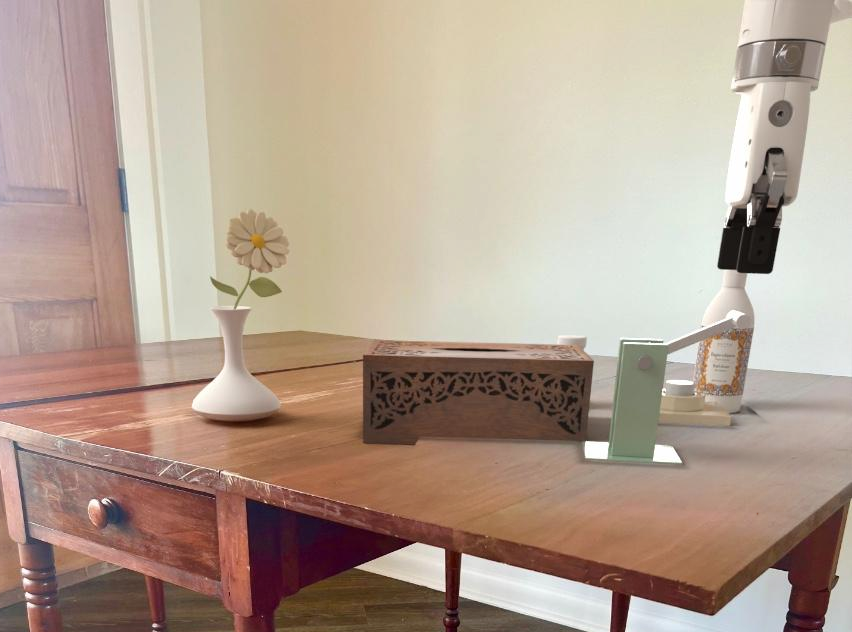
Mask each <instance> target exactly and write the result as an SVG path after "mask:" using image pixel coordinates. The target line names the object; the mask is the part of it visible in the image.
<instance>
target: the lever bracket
mask: <svg viewBox="0 0 852 632" xmlns="http://www.w3.org/2000/svg"><path fill="white" fill-rule="evenodd" d="M648 342H650V343H648ZM668 346H669V345H668V344H665V343H664V340H663V339H661V338H633V337H632V338H630V337H620V339H619V347H618V353H617V354H618V355H617V364H616V373H615V380H614V381H615V382H614V391H613V398H612V406H611V407H612V408H611V417H610V424H609V425H610V427H609V436H608V441H607V442H605V441H587V440H586V441H581V445H582V450H583V456H584V461H597V462H600V461H601V462H621V463H637V464H638V463H639V464H658V465H676V466H677V465H678V466H683V464H684V463H683V461H682V460H681V457H680V456H679V455H678V453H677V451H676V450H675V447H674V446H673V445H667V444H656V443H657V436H658V435H657V434H658V427H659V423H658V421H659V414H660V406H661V399H662V391H663V389H664V382H665V375H666V370H667V369H666V367H667V360H668V355H669V354H668ZM667 354H668V355H667Z"/></svg>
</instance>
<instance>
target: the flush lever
mask: <svg viewBox="0 0 852 632" xmlns="http://www.w3.org/2000/svg"><path fill="white" fill-rule="evenodd" d="M750 324H751V318H750V316H748V315H746V314H744V313H742V312H739V311H736V310H733V311H730V312H729V313H728V314H727V317H726V319H724V320H721V321H719V322H717V323H714V324H712V325H709V326H707V327H704V328H702V329H701V328H700V329H697V330H695V331H691V332H690V333H688V334H685V335H683V336H680V337H678V338H676V339H673V340H670V341H668V342H666V343H664V344H668V345H669V346H668V354H667V356H668V355H670V354H672V353H675V352H678V351H680V350H682V349H685V348H687V347H690V346H692V345H695V344H698V343H699V342H700V341H702V340H705V339H707V338H710V337H712V336H714V335H717V334H719V333H722V332H724V331H727V330H729V329H732V328H734V327H737V328H739V329H746V328H748V327H749V326H750ZM648 343H650V342H648Z"/></svg>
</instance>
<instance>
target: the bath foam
mask: <svg viewBox="0 0 852 632" xmlns="http://www.w3.org/2000/svg"><path fill="white" fill-rule="evenodd" d="M747 278H748V273H738V272H737V270H724V272H723V279H722V287H721V289H720V290H719V291H718V293H717V294H716V295H715V296H714V297H713V299H712V300H711V302H710V303H709V305H708V306H707V308H706V310H705V312H704V314H703V317H702V320H701V324H700V329H702V328H704V327H707V326H709V325H712V324H714V323H717V322H719V321H721V320H724V319H726V317H727V314H728V313H729V312H730V311H733V310H736V311H739V312H742V313H744V314H746V315H748V316H750V318H751V324H750V326H749V327H748V328H746V329H739V328H737V327H734V328H732V329H729V330H727V331H724V332H722V333H719V334H717V335H714V336H712V337H710V338H707V339H705V340H702V341H700V342H697V350H696V358H695V363H694V371H693V379H692V382H694V383H695V386H694V391H698V392H702V393H704V394H705V395H706V396H705V401H707V402H718V403H719V404H720V405H721V406H722V407H723V408H724V409H725V410H726V411H727V412H728V413H729V414H730V415H732V414H735V413H738V412H739V411H740V410H741V406H742V401H743V395H744V392H745V391H744V390H745V385H746V377H747V372H748V366H749V361H750V354H751V349H752V343H753V337H754V331H755V311H754V307H753V305H752V302H751V300H750V297H749V295H748V293H747V291H746V284H747Z"/></svg>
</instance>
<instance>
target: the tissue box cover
mask: <svg viewBox="0 0 852 632" xmlns="http://www.w3.org/2000/svg"><path fill="white" fill-rule="evenodd" d="M585 352H586V351H585V350H584V351H583V350H582V349H581V348H580V347H579V346H578V345H557V343H556V344H555V343H554V344H553V343H551V344H550V343H513V342H512V343H510V342H509V343H508V342H473V341H472V342H471V341H469V342H467V341H434V340H433V341H431V340H430V341H429V340H428V341H427V340H390V339H389V340H388V339H374V340H373V341H372V343H370V345H369V346H368V348H367V349H366V351H364V353H363V354H362V443H363V444H383V445H385V444H386V445H411V446H412V445H415V446H416V444H417V442H418V441H419V439H420V438H421V437H423V438H425V437H427V438H455V439H456V438H457V439H488V440H489V439H492V440H522V441H523V440H526V441H555V442H556V441H557V442H561V441H562V442H582V441H587V435H588V433H587V432H588V424H589V412H590V405H591V404H590V403H591V393H592V384H593V374H594V365H595V360H594V359H593V358H592V357H591V356H590V355H589V354H588V353H587V352H586V353H587V354H588V355H589V356H588V355H587V354H586V353H585Z"/></svg>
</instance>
